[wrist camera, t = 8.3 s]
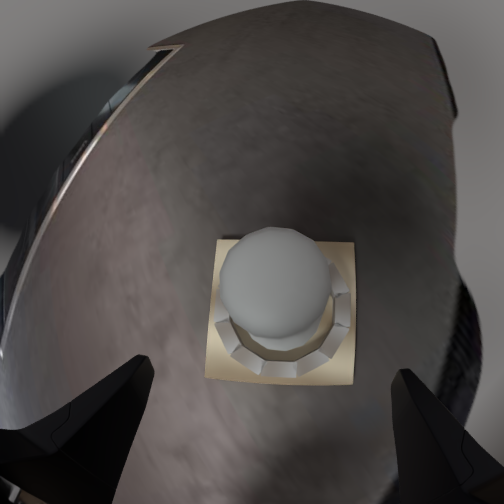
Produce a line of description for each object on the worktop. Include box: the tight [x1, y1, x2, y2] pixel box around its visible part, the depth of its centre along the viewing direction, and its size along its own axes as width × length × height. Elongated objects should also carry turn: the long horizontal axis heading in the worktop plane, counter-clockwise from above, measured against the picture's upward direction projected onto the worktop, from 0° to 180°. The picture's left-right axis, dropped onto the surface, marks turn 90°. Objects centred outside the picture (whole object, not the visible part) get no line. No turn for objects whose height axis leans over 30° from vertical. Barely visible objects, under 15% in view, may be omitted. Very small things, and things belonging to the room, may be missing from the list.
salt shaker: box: [219, 227, 332, 351], centre depth 15 cm, size 6×6×13 cm
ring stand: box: [205, 240, 356, 385], centre depth 21 cm, size 12×12×2 cm
